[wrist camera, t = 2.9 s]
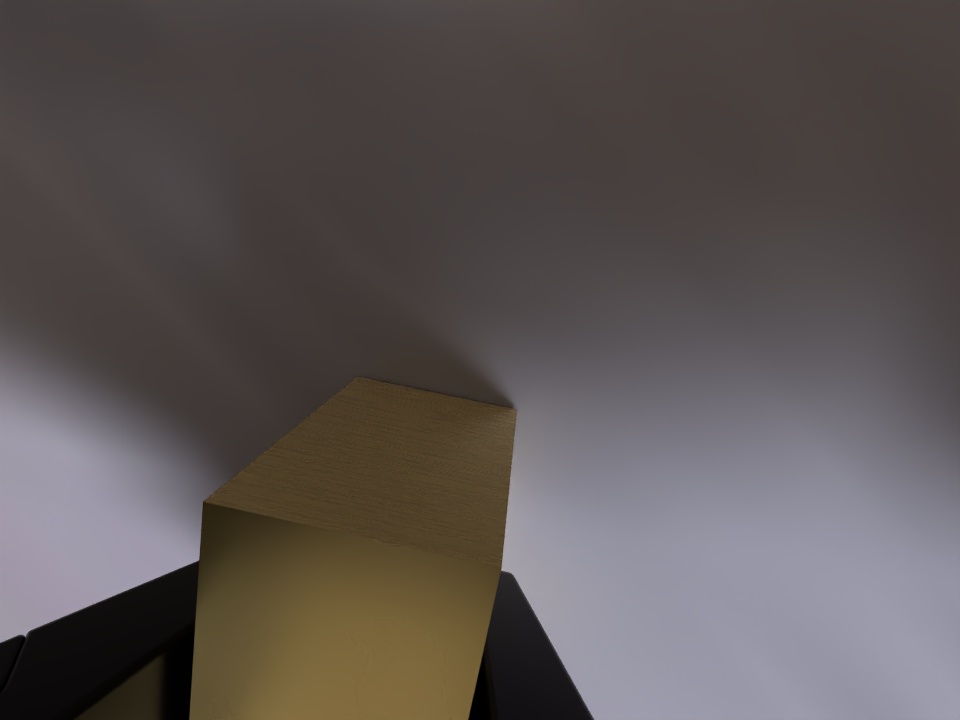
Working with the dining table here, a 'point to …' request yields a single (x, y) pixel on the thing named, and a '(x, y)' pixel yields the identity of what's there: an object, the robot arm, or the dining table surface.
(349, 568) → the wooden block
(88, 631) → the robot arm
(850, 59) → the dining table surface
